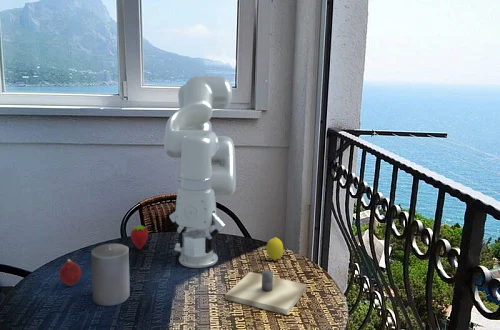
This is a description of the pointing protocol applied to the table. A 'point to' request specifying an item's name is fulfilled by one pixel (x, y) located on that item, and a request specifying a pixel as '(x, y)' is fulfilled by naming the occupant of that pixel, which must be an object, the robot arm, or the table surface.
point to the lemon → (274, 248)
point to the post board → (267, 292)
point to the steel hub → (194, 243)
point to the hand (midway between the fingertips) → (196, 248)
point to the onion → (70, 273)
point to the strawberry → (139, 236)
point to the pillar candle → (110, 274)
